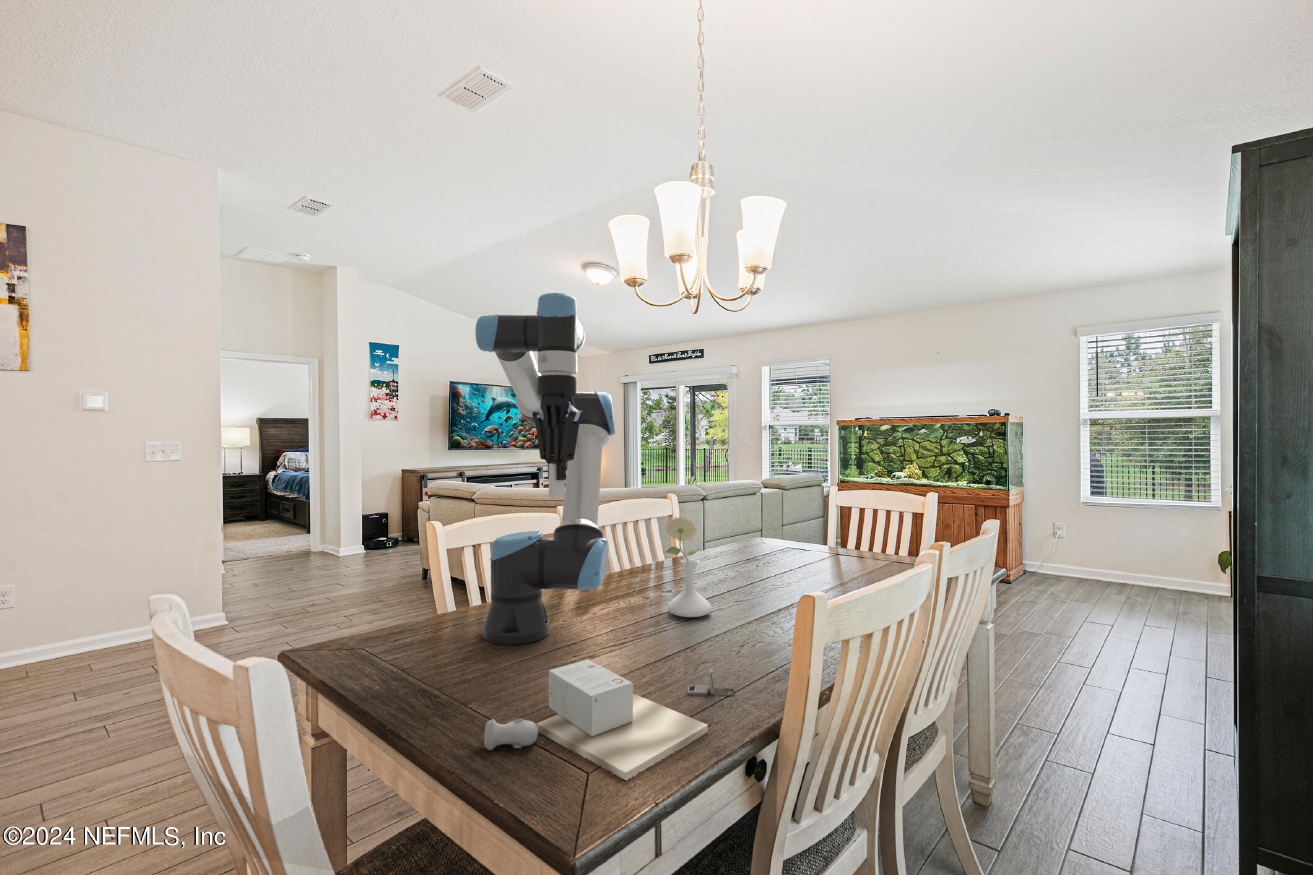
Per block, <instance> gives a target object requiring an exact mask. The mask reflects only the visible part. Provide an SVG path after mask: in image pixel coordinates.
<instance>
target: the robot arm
mask: <svg viewBox="0 0 1313 875" xmlns="http://www.w3.org/2000/svg"><path fill="white" fill-rule="evenodd" d="M578 311H579V310H578V307H577V298H575V296H573V295H571V294H568V293H563V292H562V293H561V292H548V293H544V294H543V293H542V294H541V295H540V296H539V297H538V299H537V309H536V314H535V315H534V314H533V315H526V314H525V315H523V314H520V315H518V314H513V315H512V314H492V315H489V314H488V315H482V316H479V317H478V318H477V320H476V325H475V329H474V331H475V332H474V334H475V340H476V341H475V342H476V345H477V347H478V349H479V350H481V351H483V352H489V353H493V352H494V353H495V355H496V358H497V360H498V361H499V363H500V366H501V367H502V369H503V372H504V374H505V375H506V378H507V380H508V382H509V384H510V386H511V388H512V390H513V392H514V394H515V396H516V402H515V403H516V407H517V410H518V411H519V413H520V415H521V416H522V417H523V418H524V419H525V421H527V422H528V424H530V425H532V427H534V428H535V429H536V438H537V445H538V450H539V459H541V460H543V461H545V462H546V463H547V479H548V498H550V499H556V498H557V499H558V498H563V503H562V504H563V506H562V514H561V516H562V517H561V524H560V525H558V526H557V527H555V529H554V530H553V537H549V538H548V537H547V538H546V537H545V538H543V537H544V534H543V533H542V531H540V530H537V531H536V530H529V531H528V530H527V531H521V532H514V533H510V534H505V535H501V536H499V537H497V538H496V539H494V540H493V541H492V543H491V548H490V549H491V550H490V557H489V560H490V603H489V606H488V609H487V613H486V616H485V620H484V622H483V626H482V637H483V639H484V641H487V642H489V643H492V644H498V645H509V646H510V645H511V646H512V645H521V644H529V643H533V642H536V641H539V640H542V639H545V637H547V636H548V635H549V634H550V632H551V631H550V627H551V626H550V623H551V622H550V620H549V616H548V613H547V611H546V608H545V605H544V604H545V603H544V601H543V590H561V591H562V590H564V591H566V590H567V591H572V590H573V591H574V590H575V591H576V590H577V591H579V592H580V591H581V592H582V591H586V590H597V589H598V588H600V587H601V585H602V584H603V581H604V579H605V576H606V571H607V567H608V566H607V565H608V560H609V558H608V555H609V540H608V539H606V538H604V533H603V531H602V530H601V529H600V528H599V527H598V521H599V519H598V518H599V507H600V506H599V503H600V491H601V490H600V489H601V476H602V475H601V474H602V463H603V462H602V459H603V447H605V446H606V445H607V444H608V443H609V440H610V436H611V437H612V436H615V435H616V427H615V419H614V418H615V417H614V416H615V415H614V407H613V400H612V396H611V394H610V393H608V392H601V391H596V390H594V391H588V392H586V391H577V390H578V389H577V385H578V384H577V382H578V381H577V377H576V376H574V375H576V374H577V373H578V363H577V361H578V356H577V355H578V354H577V352H578V351H580V350H581V349H582V347H583V346H584V345H585V342H586V333H585V328H584V326H583V324H582V323H581V322H580V321H579V319H578ZM533 352H536V353H537V362H536V359H535V357H534V353H533Z"/></svg>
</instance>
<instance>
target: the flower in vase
mask: <svg viewBox="0 0 1313 875" xmlns="http://www.w3.org/2000/svg"><path fill="white" fill-rule="evenodd" d="M665 531H666V533H667V534H668V536H669V537H670V538H672V539H673V540H677V541H678V542H679V548H678V547H676V546H670V547H669V548H668V549H667V550H666V551H665V552H666V553H668V554H672V555H675V556H676V555H679V554H680V553H682V555H683V556H684V559H681V560H679V563H680V564H681V565H682V567H683V570H684V577H685V581H684V582H685V584H684V588H683V590H682V592H680V593H679V594H678V595H677V596H675V597H674V598H673V599H672V600H670V602H669V603H668V604H667V610H668V611H669V613H671V614H673V615H674V616H678V617H681V618H682V617H683V618H699V617H703V616H706V615H708V614H709V613H710V612H711V611H712V610H713V608H712V605H711V603H710V602H709V601H708V600H707V599H706V598H704V596H702V595H701V594H700V593H699V592H697V590H696V588H695V574H696V573H695V572H696V568H697V566H698V565H699V563H700V560H698V559H695V558H687V557H689V556H693V555H695V554H696V553H698V551H699V550H700V548H701V547H697V548H695V549H691V550H690V551H689V552H688V553H687V554H685V552H684V551H683V549H682V545H681V544H682V542H686V541H690V540H693V539H695V536H696V533H697V532H698V530H697V528H696V526H695V524H694V523H693V521H692V520H688V518H686V517H683V518H682V516H679V517H677V516H675V517H673V519H671V518H670V520H668V521H667V524H666V526H665Z"/></svg>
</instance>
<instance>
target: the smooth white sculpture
mask: <svg viewBox="0 0 1313 875" xmlns="http://www.w3.org/2000/svg"><path fill="white" fill-rule="evenodd" d="M538 735H539V732H538V728H537V723H535V722H534V721H532V720H527V719H524V718H516V719H514V720H511V721H508V722H507V723H506V724H504V723H503V724H502V723H498V722H497V721H496V719H494V718H492V719H490V720H489V721H486V723H485V728H484V735H483V738H484V739H483V741H484V742H483V743H484V744H483V745H484V748H485V749H487V750H488V751H490V750H492V751H493V750H494V749H495V747H498V746H501V745H511V746H512V747H513V748H514V749H516V748H520V749H522V748H523V747H527V746H531V745H533V744H534V743H535V742H536V740H537V738H538ZM521 747H522V748H521Z"/></svg>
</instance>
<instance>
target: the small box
mask: <svg viewBox="0 0 1313 875" xmlns="http://www.w3.org/2000/svg"><path fill="white" fill-rule="evenodd" d="M633 694H634V683H633V682H631V681H630V680H627V679H625V678H624V677H622V676H621V675H619V674H617V673H615V672H612V671H611V670H609V669H607V668H605V667H604V666H601V665H600V664H598V663H596V662H594V661H592V660H590V659H585V660H582V661H578V662H575V663H570V664H567V665H563V666H560V667H557V668H553V669H549V670H548V708H549V709H550V710H551V711H554V712H555V713H556V714H559V715H561V716H562V717H564V718H565V719H567V720H568V721H570V722H571V723H572V724H574V725H575V726H577V727H578V728H580V729H581V730H583V731H584V732H586V733H587V734H588V735H590V736H591V737H593V736H595V735H598V734H601V733H603V732H606V731H609V730H611V729H614V728H617V727H619V726H622V725H625V724H627V723H630V722H633Z"/></svg>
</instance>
